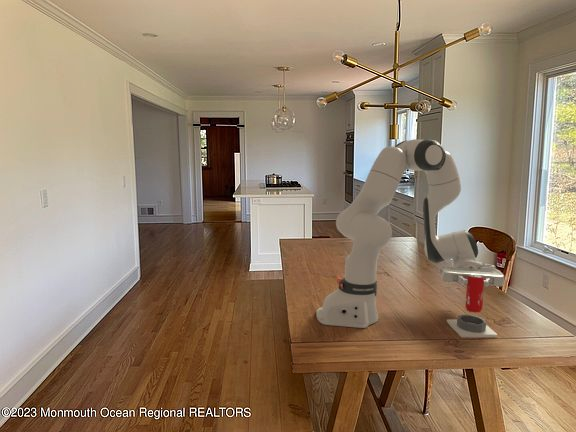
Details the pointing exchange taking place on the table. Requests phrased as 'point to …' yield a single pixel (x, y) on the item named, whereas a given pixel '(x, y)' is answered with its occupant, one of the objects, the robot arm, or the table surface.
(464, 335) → the mount
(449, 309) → the table surface
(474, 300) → the beverage can
